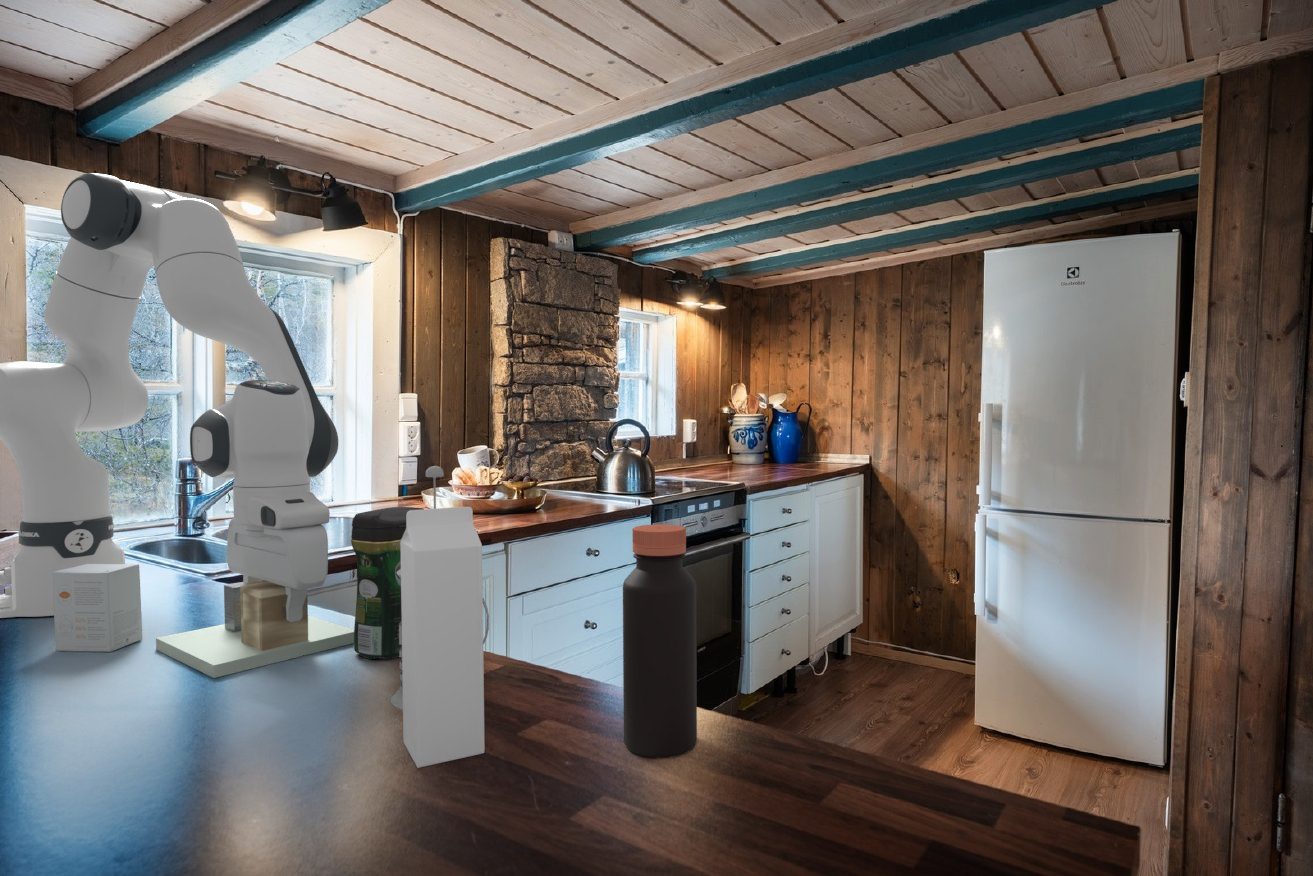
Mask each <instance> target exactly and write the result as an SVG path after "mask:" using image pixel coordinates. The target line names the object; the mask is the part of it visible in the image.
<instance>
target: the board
mask: <svg viewBox="0 0 1313 876" xmlns="http://www.w3.org/2000/svg"><path fill="white" fill-rule="evenodd" d="M350 644H354V629H353V628H349V627H346V626H344V625H341V624H340V625H339V624H337V623H333V622H330V621H327V620H324V619H321V618H318V617H315V616H312V615H309V614H308V640H306V641H302V642H298V643H294V644H289V645H285V646H281V647H277V648H273V649H268V650H264V651H261V650H259V649H257V648H254V647H252V646H249V645H247V644H244V643H242V641H241V631H239V632H232V631H230V630H227V629H225V623H223V624H219V625H215V626H208V627H203V628H199V629H195V630H188V631H184V632H178V633H174V634H170V635H165V636H160V637H155V650H156V651H159V652H160V653H163V654H164V655H166V656H169V657H170V658H173V659H175V660H177V661H179V662H181V663H183V664H184V665H187V666H189V667H191V668H192V669H195V670H197V671H198V672H200V673H203V674H205V675H207V676H209V677H210V678H213V679H216V678H220V677H224V676H228V675H229V676H230V675H232V674H237V673H240V672H245V671H247V670H251V669H256V668H259V667H263V666H269V665H271V664H276V663H280V662H284V661H288V660H291V659H292V660H293V659H295V658H296V659H297V658H299V657H300V658H301V657H303V655H304V656H307V655H311V654H317V653H319V652H323V651H327V650H331V649H334V648H339V647H342V646H347V645H350Z"/></svg>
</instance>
